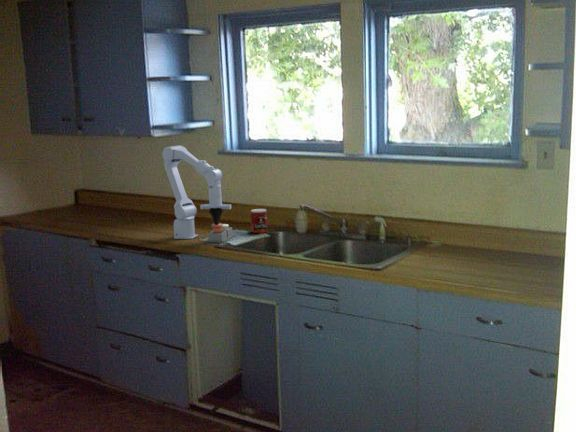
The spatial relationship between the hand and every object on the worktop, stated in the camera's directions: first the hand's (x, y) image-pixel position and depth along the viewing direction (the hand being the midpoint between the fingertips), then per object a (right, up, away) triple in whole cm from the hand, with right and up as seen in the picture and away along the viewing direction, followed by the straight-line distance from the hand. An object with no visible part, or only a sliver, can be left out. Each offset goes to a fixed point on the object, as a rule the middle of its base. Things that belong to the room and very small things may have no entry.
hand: (216, 224), depth 311 cm
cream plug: (+2, -5, +9) cm, 11 cm away
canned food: (+19, -4, +16) cm, 26 cm away
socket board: (+1, -7, +5) cm, 9 cm away
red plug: (0, -4, +1) cm, 4 cm away
